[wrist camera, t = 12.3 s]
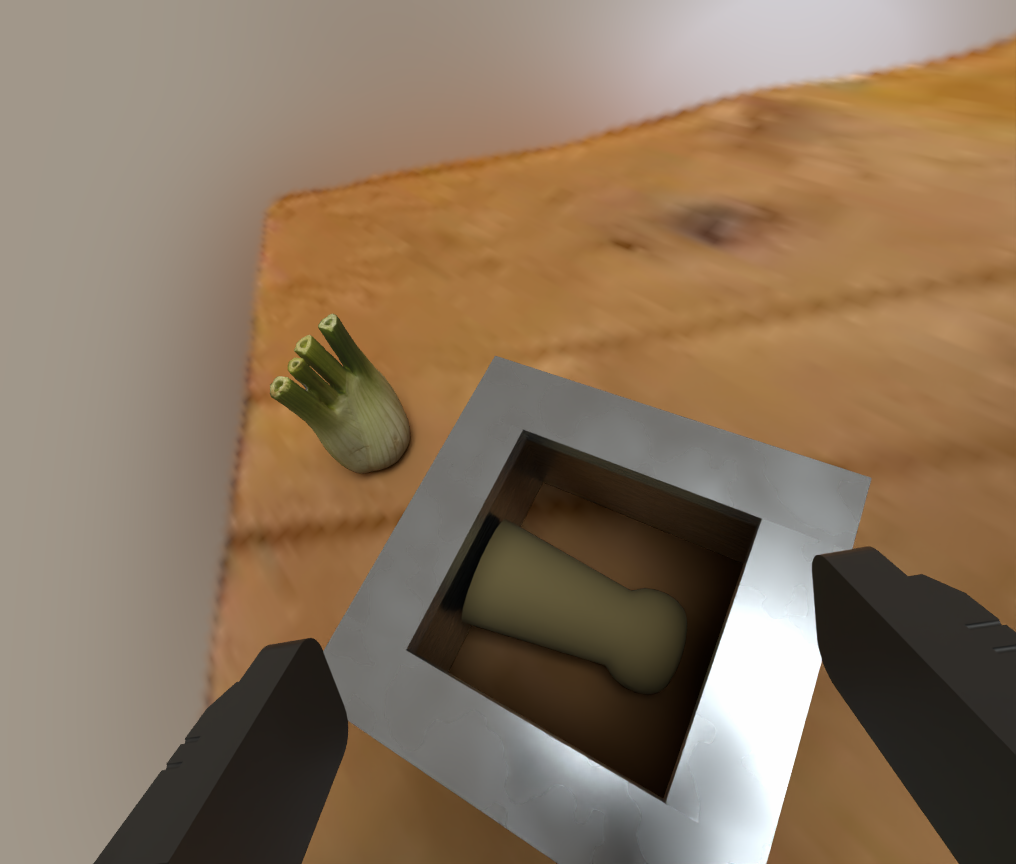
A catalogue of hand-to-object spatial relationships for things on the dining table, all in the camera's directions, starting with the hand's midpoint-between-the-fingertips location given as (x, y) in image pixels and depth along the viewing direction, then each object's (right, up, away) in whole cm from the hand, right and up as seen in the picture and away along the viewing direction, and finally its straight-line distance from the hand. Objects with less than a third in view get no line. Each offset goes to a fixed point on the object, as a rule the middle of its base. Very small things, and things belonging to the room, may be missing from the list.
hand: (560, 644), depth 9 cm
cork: (-2, -4, +22) cm, 22 cm away
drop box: (+4, -8, +23) cm, 25 cm away
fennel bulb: (-10, +2, +32) cm, 33 cm away
